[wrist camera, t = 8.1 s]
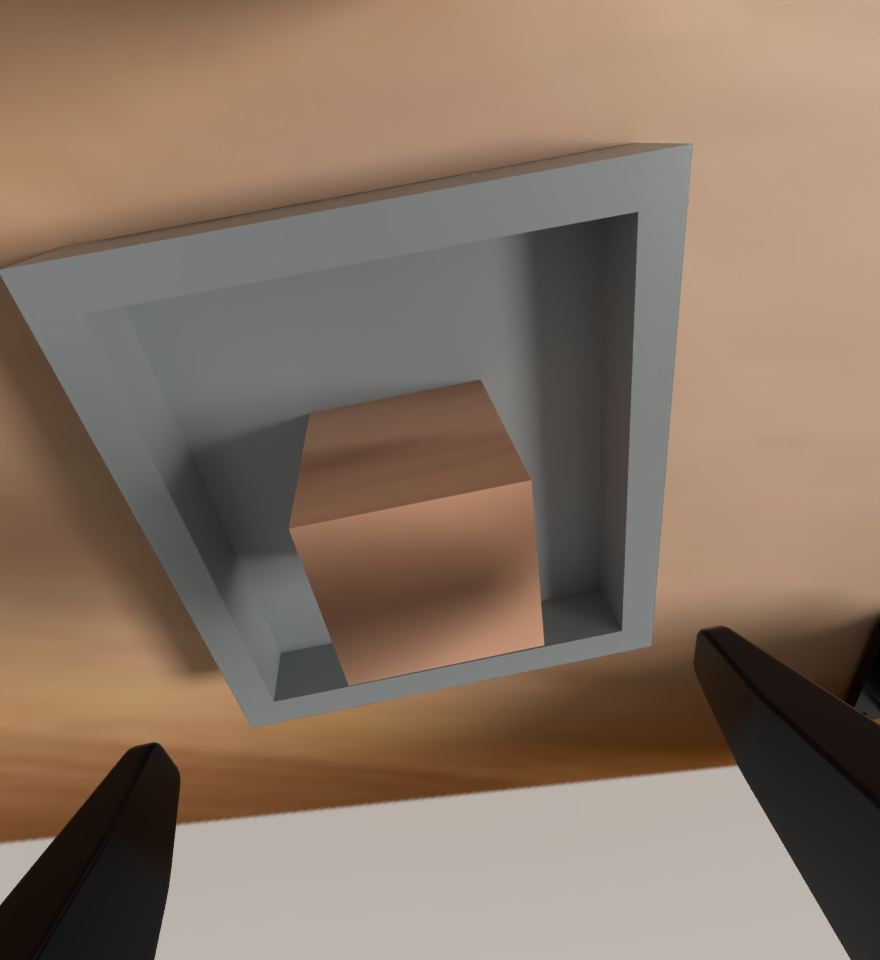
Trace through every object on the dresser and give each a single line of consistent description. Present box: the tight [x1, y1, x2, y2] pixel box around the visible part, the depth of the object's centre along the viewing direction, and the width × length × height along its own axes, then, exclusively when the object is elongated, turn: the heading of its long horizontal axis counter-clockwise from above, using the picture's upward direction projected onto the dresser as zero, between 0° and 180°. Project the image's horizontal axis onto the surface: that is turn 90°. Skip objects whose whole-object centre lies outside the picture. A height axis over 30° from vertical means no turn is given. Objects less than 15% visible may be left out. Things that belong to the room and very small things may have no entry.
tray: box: [0, 143, 693, 728], centre depth 15 cm, size 14×13×2 cm
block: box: [289, 380, 544, 686], centre depth 13 cm, size 4×4×5 cm
